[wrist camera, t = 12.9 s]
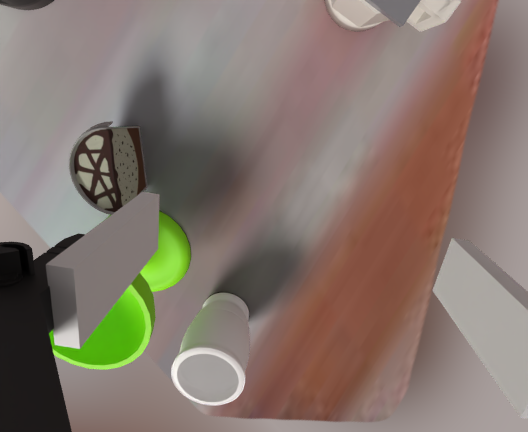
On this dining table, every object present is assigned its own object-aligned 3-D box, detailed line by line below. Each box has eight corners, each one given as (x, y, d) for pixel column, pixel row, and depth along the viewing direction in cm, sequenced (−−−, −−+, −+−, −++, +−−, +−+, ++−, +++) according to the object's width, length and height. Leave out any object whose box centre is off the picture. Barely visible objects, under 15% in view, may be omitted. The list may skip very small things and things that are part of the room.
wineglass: (188, 297, 61) (150, 378, 44) (99, 283, 61) (28, 359, 45) (193, 213, 55) (152, 270, 39) (95, 199, 56) (11, 249, 39)
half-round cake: (97, 115, 51) (54, 122, 41) (138, 115, 50) (104, 123, 41) (111, 195, 55) (75, 218, 46) (148, 196, 55) (120, 219, 46)
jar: (186, 298, 61) (156, 362, 47) (237, 277, 59) (221, 338, 45) (215, 342, 64) (195, 415, 51) (265, 324, 62) (258, 394, 48)
